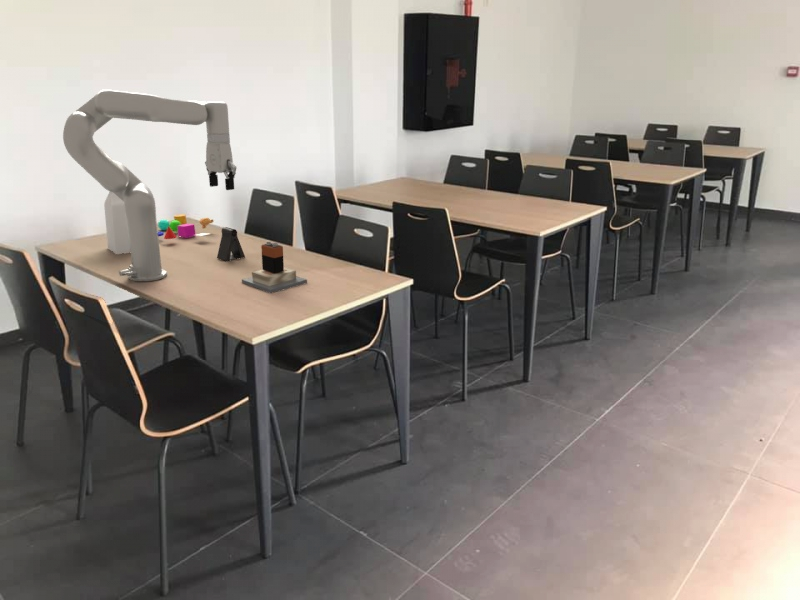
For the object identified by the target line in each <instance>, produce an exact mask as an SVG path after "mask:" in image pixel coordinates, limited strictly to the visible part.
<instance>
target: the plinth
mask: <svg viewBox="0 0 800 600" xmlns="http://www.w3.org/2000/svg"><path fill="white" fill-rule="evenodd" d="M296 276H297V271H296V269H293V268H290V267H286V266H284V271H282V272H279V273H271V272H268V271H265V270H263V269H258V270H256V271H252V272H251V277H252V279H253V281H256V282H258V283H261V284H264V285H267V286H271V285H275V284H278V283H282V282H286V281H289V280H293V279H296Z"/></svg>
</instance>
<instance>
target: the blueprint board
mask: <svg viewBox="0 0 800 600" xmlns="http://www.w3.org/2000/svg"><path fill="white" fill-rule="evenodd" d="M241 283H242V284H244V285H247V286H250V287H252V286H253V287H252V288H255V287H256V288H255V289H258V290H261V291H263V290H264V292H266V291H267V293H269V292H270V293H269V294H273V293H276V292H275V291H277V292H279V290H280V291H284V290H287V289H290V287H291V288H293V287H297V285H298V286H300V285H305V284H307V283H308V279H306V278H303V277H300V276H297V275H296V279H293V280H289V281H286V282H282V283H278V284H275V285H271V286H267V285H264V284H261V283H258V282H256V281H253V279H252V276H249V277H246V278H243V279H241ZM304 283H305V284H304ZM283 289H284V290H283ZM272 292H273V293H272Z"/></svg>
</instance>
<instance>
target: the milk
mask: <svg viewBox="0 0 800 600" xmlns="http://www.w3.org/2000/svg"><path fill="white" fill-rule="evenodd" d="M108 192H109V193H108V194H107V196H106V198H105V201H104V204H103V205H104V216H105V217H104V219H105V227H106V230H105V231H106V240H107V249H108V248H109V249H108V250H109V251H111V252H112V251H113V252H112V253H114V254H115V255H121V254H122V253H124V254H129V252H131V251H130V243H129V235H128V228H127V219H126V212H125V205H124V202H123V201H122V200H121V199H120V198H119V197H118V196H117V195H116V194H114V193H113V192H110V191H108ZM122 255H123V254H122Z"/></svg>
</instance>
